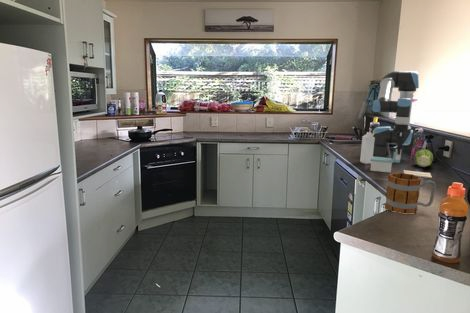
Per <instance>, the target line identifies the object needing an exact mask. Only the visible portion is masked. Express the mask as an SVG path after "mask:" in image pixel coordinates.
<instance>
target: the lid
mask: <svg viewBox="0 0 470 313" xmlns="http://www.w3.org/2000/svg"><path fill="white" fill-rule="evenodd" d="M370 161H377V162H387V163H392V164H393V163H401V159H400V160H396V151H393V157H390V158H385V157H374V156H371V160H370Z"/></svg>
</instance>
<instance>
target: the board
mask: <svg viewBox="0 0 470 313" xmlns="http://www.w3.org/2000/svg"><path fill="white" fill-rule="evenodd" d="M403 173H406V174H413V175H416V176H419V177H422V178H423V179H424V178H426V179H432V178H433V176H432V174H431V172H423V171H416V170H415V171H414V170H405V169H403Z"/></svg>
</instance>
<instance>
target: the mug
mask: <svg viewBox="0 0 470 313" xmlns="http://www.w3.org/2000/svg"><path fill="white" fill-rule="evenodd" d="M387 176H388V177H387V178H388V182H387V188H386V194H385V197H386V199H385V206H384V209H386V210H387V211H389V210H392V211H396V212H401V213H416V214H417V212H418V206H422V207H425V208H426V207H431V205H432V204H433V202H434V198H435V195H436V194H435V193H436V190H437V186H436V185H437V184H436V182H435V181H432V180H431V179H429V180H428V179H427V180H425V181H424V182H422V178H423V177H421V176H417V175H413V174H406V173H404V172H391V173H390V172H389V174H388V175H387ZM421 182H422V183H421ZM428 184H432V188H431V192H430V196H429V197H430V198H429V201H428V203H424V202H421V201H420V202H419V198H420V197H419V196H420V191H421V190H420V188H421V187H422V188H423V187H425V186H426V185H428ZM416 211H417V212H416Z"/></svg>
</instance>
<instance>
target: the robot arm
mask: <svg viewBox="0 0 470 313" xmlns="http://www.w3.org/2000/svg"><path fill="white" fill-rule="evenodd" d="M419 86H420V85H419V72H418V71H414V70H411V71H410V70H407V71H403V70H399V71H398V70H397V71H390V72H388V73H386V74H385V75H384V76H383V77H382V78H381V79H380V82H379V87H380V88H379V92H378V96H377V99H375V100H373V103H372V112H374V113H375V112H377V113H392V114H393V113H395V117H394V120H395V121H394V126H393V128H392V127H391V126H378V127H375V128H374V130H373V137H374V138H375V140H374V150H373V156H374V157H385V158H391V151H390V148H389V147H390V145H396V146H395V152H396V160H400V161H401V158H402V149H403V146H409V145H410V144H411V141H412V138H413V133H414V130H413V129H412V126H410V123H411V116H412V105H413V99H414V98H413V97H414V93H416V92H417V89H419ZM393 89H398V90H397V91H398V92H399V98H398V99H397V100H391V96H392V91H393Z"/></svg>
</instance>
